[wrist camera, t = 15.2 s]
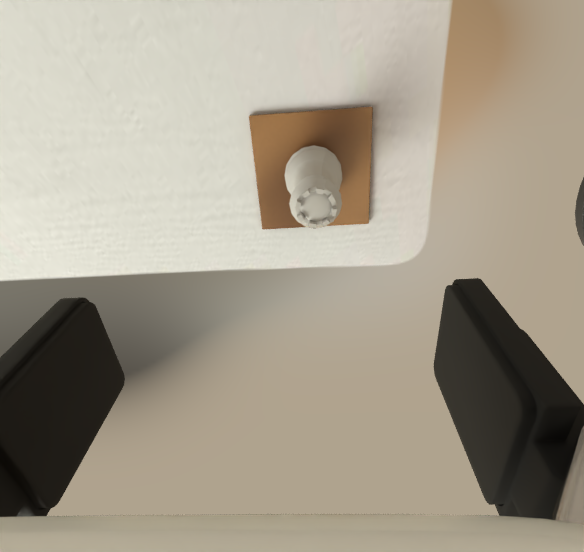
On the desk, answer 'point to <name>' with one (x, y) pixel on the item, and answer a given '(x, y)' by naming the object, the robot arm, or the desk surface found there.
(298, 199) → the rook chess piece
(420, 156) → the desk surface
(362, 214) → the coaster
